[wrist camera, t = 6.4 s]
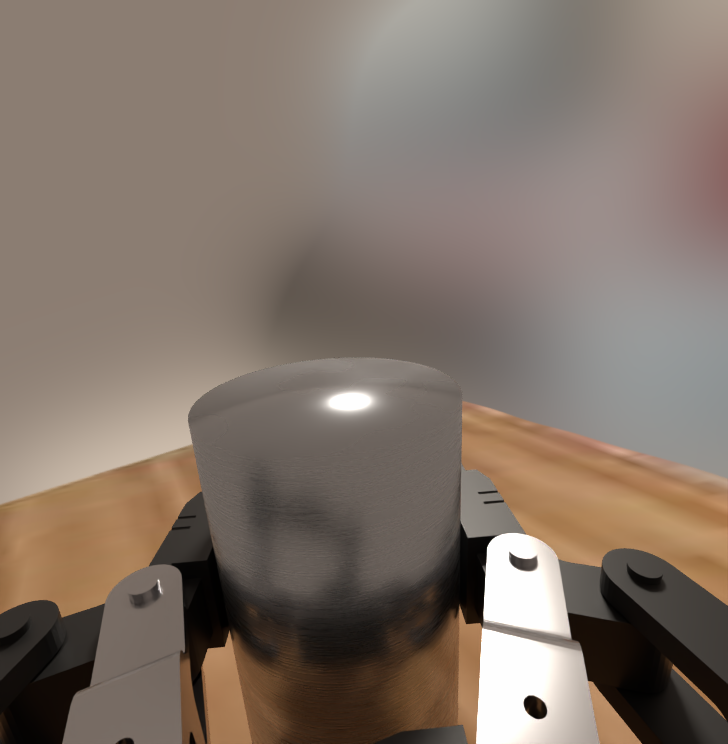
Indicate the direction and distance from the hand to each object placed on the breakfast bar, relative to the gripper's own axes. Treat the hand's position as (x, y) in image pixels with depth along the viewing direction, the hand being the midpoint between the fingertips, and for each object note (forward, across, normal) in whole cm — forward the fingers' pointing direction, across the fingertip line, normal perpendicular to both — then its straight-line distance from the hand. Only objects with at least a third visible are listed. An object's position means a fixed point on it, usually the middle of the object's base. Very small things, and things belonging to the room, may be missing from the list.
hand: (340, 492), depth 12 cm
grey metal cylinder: (-3, 0, +6) cm, 7 cm away
